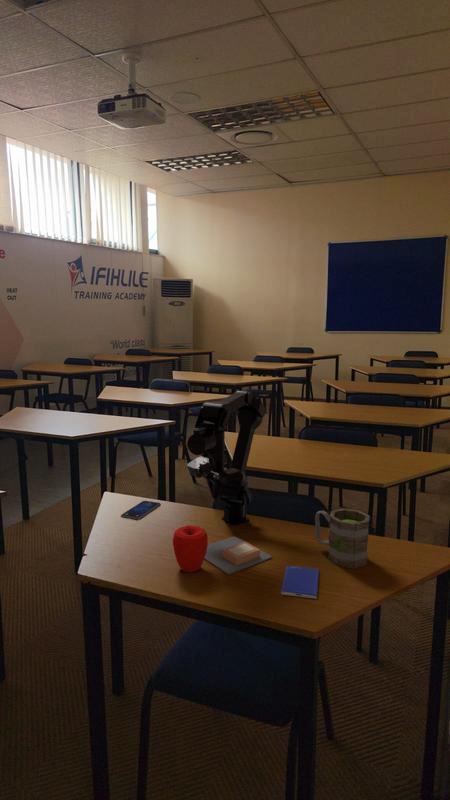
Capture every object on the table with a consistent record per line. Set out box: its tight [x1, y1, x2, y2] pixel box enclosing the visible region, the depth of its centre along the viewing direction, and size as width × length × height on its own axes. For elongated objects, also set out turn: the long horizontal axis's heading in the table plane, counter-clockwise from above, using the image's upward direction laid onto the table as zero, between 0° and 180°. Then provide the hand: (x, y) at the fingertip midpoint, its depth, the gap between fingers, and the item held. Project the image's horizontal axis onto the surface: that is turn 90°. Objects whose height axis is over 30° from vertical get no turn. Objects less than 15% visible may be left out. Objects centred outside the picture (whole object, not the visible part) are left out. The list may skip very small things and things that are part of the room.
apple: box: [172, 525, 209, 573], centre depth 129 cm, size 9×9×11 cm
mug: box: [314, 508, 371, 569], centre depth 136 cm, size 16×11×12 cm
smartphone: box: [120, 500, 162, 521], centre depth 168 cm, size 7×1×15 cm
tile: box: [223, 541, 261, 565], centre depth 135 cm, size 8×2×6 cm
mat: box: [204, 535, 273, 575], centre depth 137 cm, size 15×16×1 cm
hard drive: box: [280, 565, 320, 600], centre depth 123 cm, size 2×8×12 cm
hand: (214, 498), depth 147 cm, fingers closed
